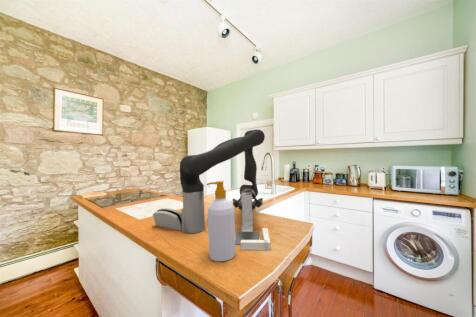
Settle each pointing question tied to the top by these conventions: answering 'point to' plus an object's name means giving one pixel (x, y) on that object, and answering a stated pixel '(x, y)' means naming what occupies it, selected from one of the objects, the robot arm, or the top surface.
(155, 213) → the grey rounded block
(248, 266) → the top surface
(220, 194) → the soap bottle
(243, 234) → the pad
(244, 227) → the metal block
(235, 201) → the robot arm
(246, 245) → the corner piece
